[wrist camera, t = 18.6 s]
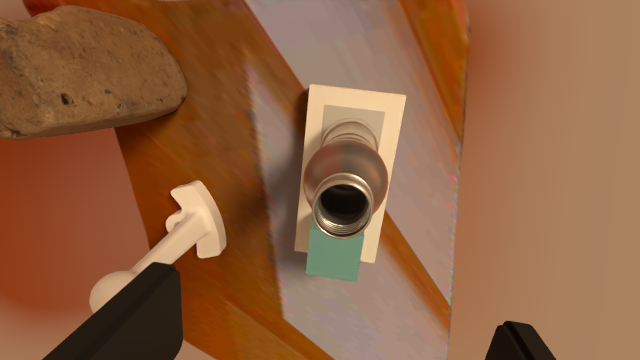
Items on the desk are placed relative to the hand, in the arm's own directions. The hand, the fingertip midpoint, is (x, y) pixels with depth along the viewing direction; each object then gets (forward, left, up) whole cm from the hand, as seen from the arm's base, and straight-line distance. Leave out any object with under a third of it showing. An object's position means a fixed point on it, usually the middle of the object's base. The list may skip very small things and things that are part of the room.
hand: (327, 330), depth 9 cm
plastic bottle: (0, 0, -29) cm, 29 cm away
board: (-5, 0, -32) cm, 33 cm away
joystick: (-15, +21, -32) cm, 42 cm away
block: (+5, +26, -32) cm, 42 cm away
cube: (-12, 0, -29) cm, 32 cm away
